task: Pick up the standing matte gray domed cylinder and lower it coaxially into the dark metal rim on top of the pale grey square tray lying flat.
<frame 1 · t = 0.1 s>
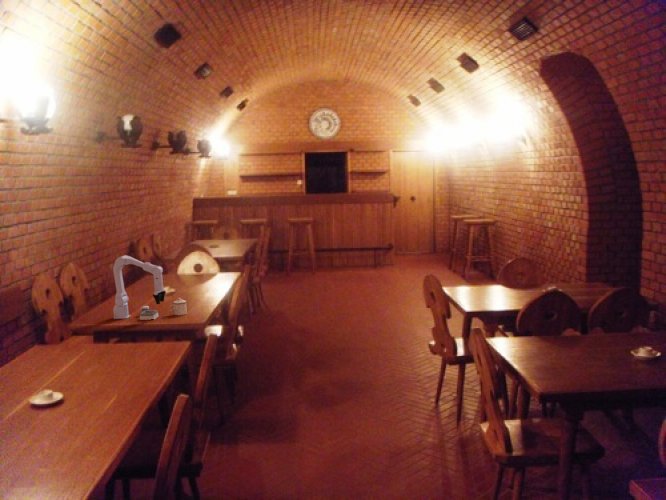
hand: (160, 302, 414), 10 cm above the table, tool pointing down, fingers open, 7 cm apart
gray domed cylinder: (145, 314, 422), on the table
teacup with lid: (178, 314, 421), on the table
grey square tray: (149, 317, 413), on the table
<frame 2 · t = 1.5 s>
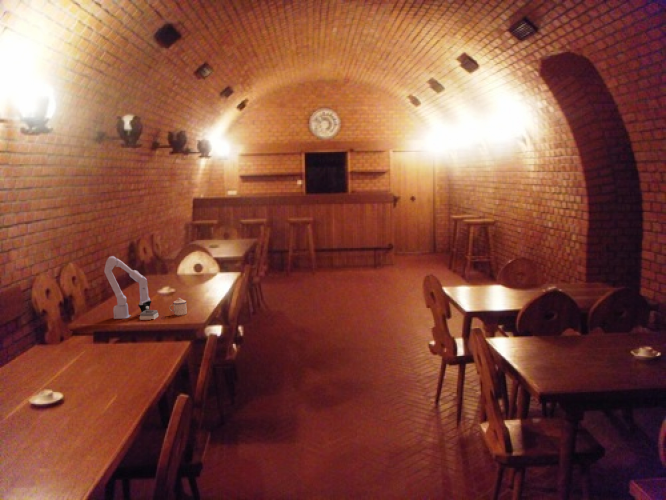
hand: (145, 312, 422), 2 cm above the table, tool pointing down, fingers open, 7 cm apart
nothing on the table moved.
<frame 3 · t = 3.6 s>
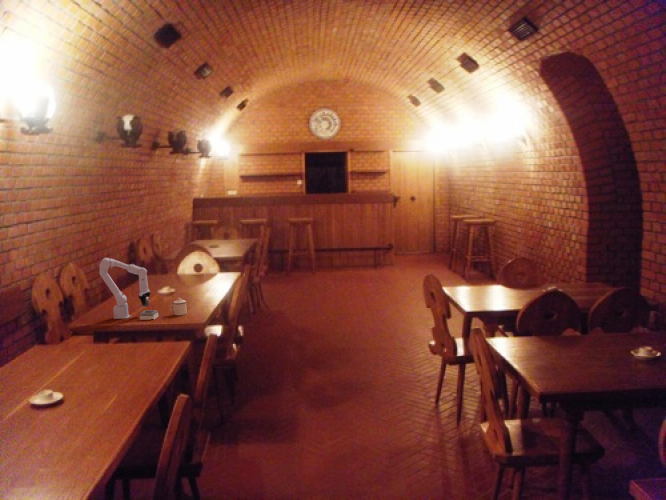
hand: (145, 303, 420), 8 cm above the table, tool pointing down, fingers closed on gray domed cylinder, 5 cm apart
gray domed cylinder: (145, 305, 421), point 7 cm above the table, touching gripper
everything else where it was.
when the fingers open (5 cm above the table, at t = 5.2 s): gray domed cylinder drops 1 cm, resting on grey square tray.
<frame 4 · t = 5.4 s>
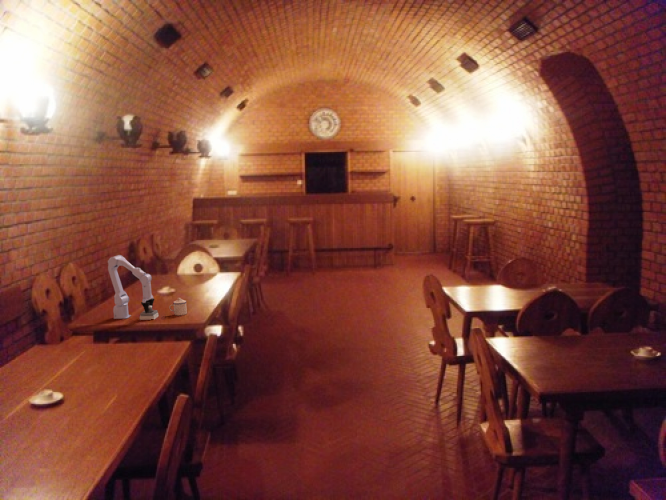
hand: (148, 310, 412), 5 cm above the table, tool pointing down, fingers open, 6 cm apart
gray domed cylinder: (149, 314, 413), point 2 cm above the table, touching grey square tray
everything else where it was.
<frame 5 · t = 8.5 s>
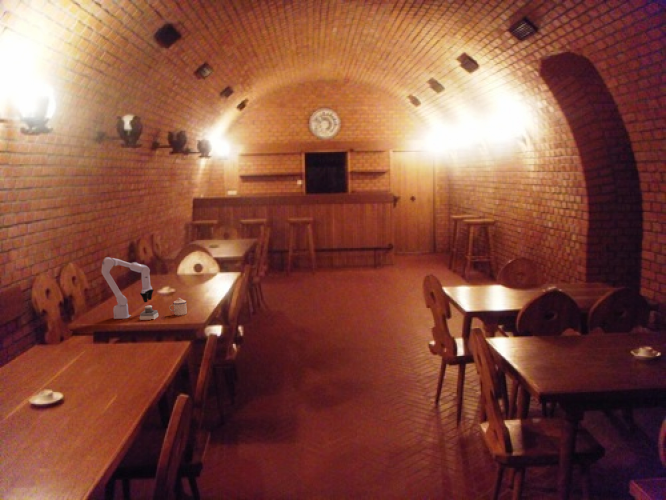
hand: (147, 301, 424), 9 cm above the table, tool pointing down, fingers open, 7 cm apart
nothing on the table moved.
at the end: gray domed cylinder 0.0 cm off-centre on the grey square tray, point 2.5 cm above the grey square tray's base; gray domed cylinder tilted 0°; the gripper is holding nothing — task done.
